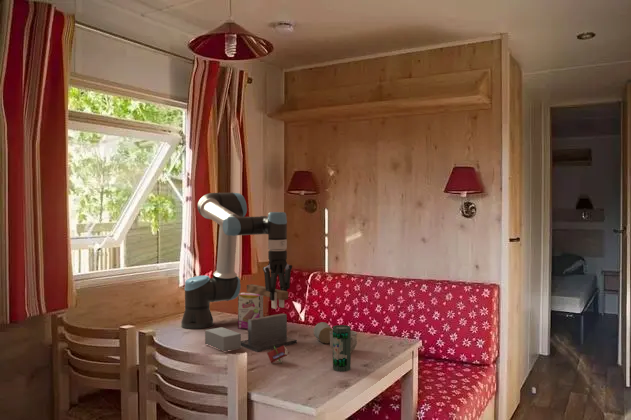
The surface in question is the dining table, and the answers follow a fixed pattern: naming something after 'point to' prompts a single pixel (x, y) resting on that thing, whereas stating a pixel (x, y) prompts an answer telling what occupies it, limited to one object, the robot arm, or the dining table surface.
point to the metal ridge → (267, 333)
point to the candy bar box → (249, 308)
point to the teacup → (353, 339)
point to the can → (341, 348)
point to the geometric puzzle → (277, 354)
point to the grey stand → (223, 339)
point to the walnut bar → (262, 291)
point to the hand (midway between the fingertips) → (277, 307)
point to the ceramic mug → (322, 332)
